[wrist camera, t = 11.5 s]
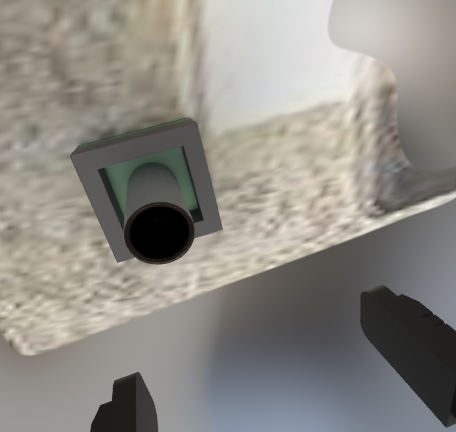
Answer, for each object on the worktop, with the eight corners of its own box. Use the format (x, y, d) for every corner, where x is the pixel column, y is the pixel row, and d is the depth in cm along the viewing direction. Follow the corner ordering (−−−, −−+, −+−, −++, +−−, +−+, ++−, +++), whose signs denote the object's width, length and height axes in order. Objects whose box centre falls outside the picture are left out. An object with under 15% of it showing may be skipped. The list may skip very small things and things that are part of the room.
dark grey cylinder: (159, 152, 28) (170, 188, 19) (186, 191, 30) (208, 240, 21) (117, 179, 28) (107, 228, 19) (147, 217, 30) (151, 277, 21)
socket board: (78, 145, 27) (69, 156, 24) (189, 117, 29) (196, 123, 25) (119, 242, 32) (117, 262, 28) (213, 213, 33) (222, 229, 29)
